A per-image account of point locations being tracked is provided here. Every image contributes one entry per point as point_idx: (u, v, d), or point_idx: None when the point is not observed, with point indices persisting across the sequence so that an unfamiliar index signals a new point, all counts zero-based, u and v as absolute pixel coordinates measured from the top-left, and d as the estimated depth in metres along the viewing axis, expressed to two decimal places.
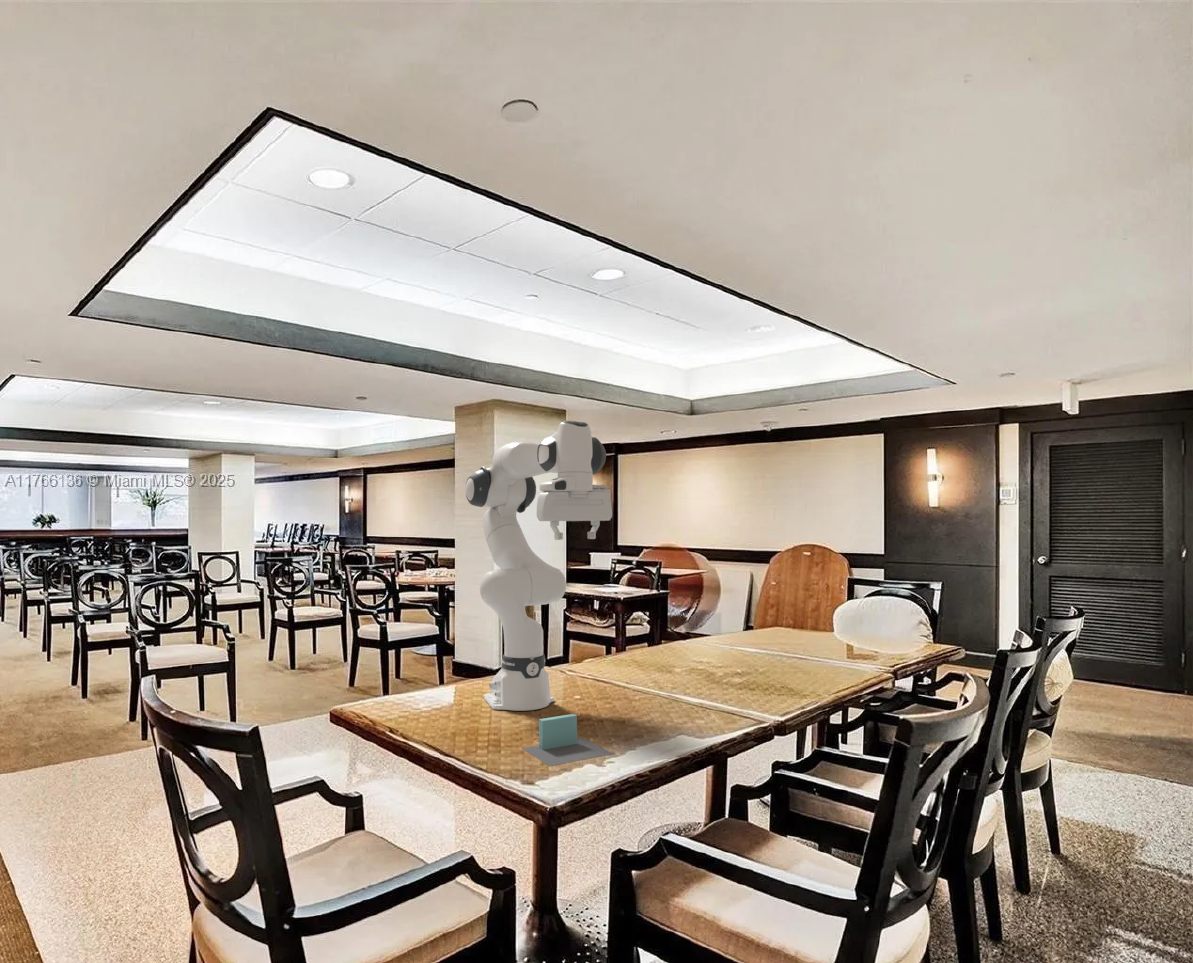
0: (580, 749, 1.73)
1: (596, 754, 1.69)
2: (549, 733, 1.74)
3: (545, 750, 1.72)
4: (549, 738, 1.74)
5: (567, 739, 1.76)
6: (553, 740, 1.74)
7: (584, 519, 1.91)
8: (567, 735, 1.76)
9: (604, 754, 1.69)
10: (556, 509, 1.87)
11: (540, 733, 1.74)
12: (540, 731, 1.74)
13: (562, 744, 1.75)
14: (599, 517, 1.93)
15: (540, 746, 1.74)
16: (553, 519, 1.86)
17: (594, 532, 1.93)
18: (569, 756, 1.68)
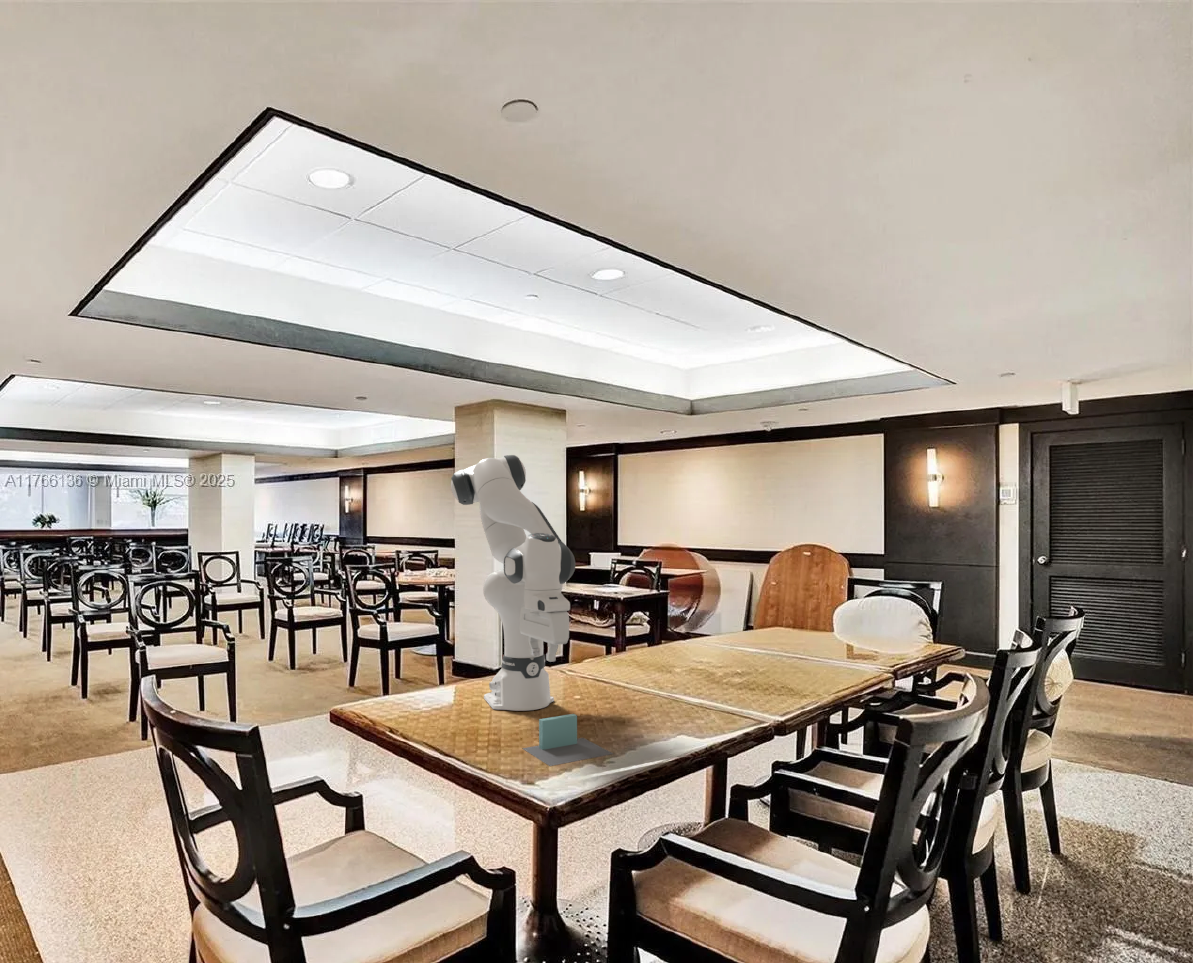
0: (580, 749, 1.73)
1: (596, 754, 1.69)
2: (549, 733, 1.74)
3: (545, 750, 1.72)
4: (549, 738, 1.74)
5: (567, 739, 1.76)
6: (553, 740, 1.74)
7: None
8: (567, 735, 1.76)
9: (604, 754, 1.69)
10: None
11: (540, 733, 1.74)
12: (540, 731, 1.74)
13: (562, 744, 1.75)
14: None
15: (540, 746, 1.74)
16: None
17: None
18: (569, 756, 1.68)
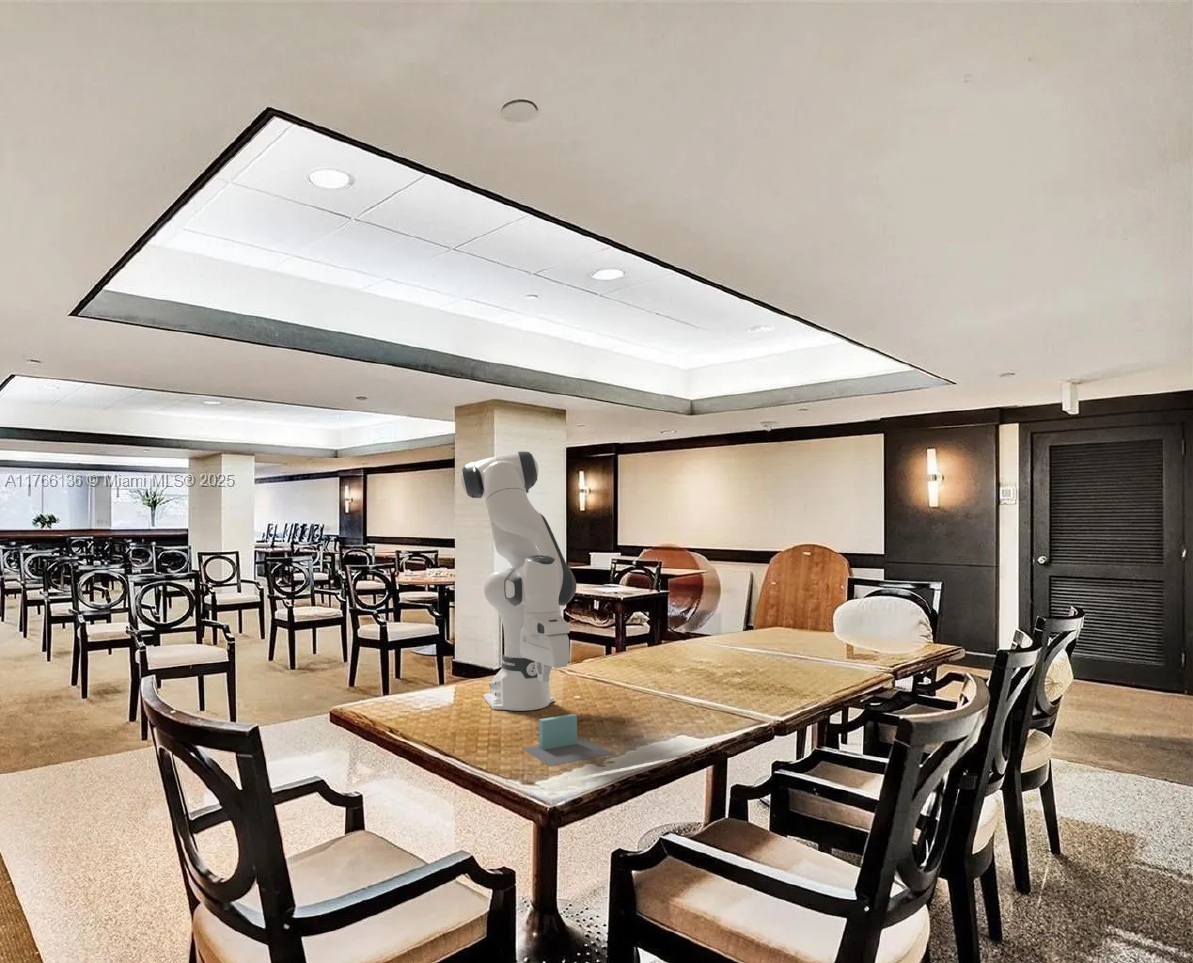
0: (580, 749, 1.73)
1: (596, 754, 1.69)
2: (549, 733, 1.74)
3: (545, 750, 1.72)
4: (549, 738, 1.74)
5: (567, 739, 1.76)
6: (553, 740, 1.74)
7: None
8: (567, 735, 1.76)
9: (604, 754, 1.69)
10: None
11: (540, 733, 1.74)
12: (540, 731, 1.74)
13: (562, 744, 1.75)
14: None
15: (540, 746, 1.74)
16: None
17: None
18: (569, 756, 1.68)
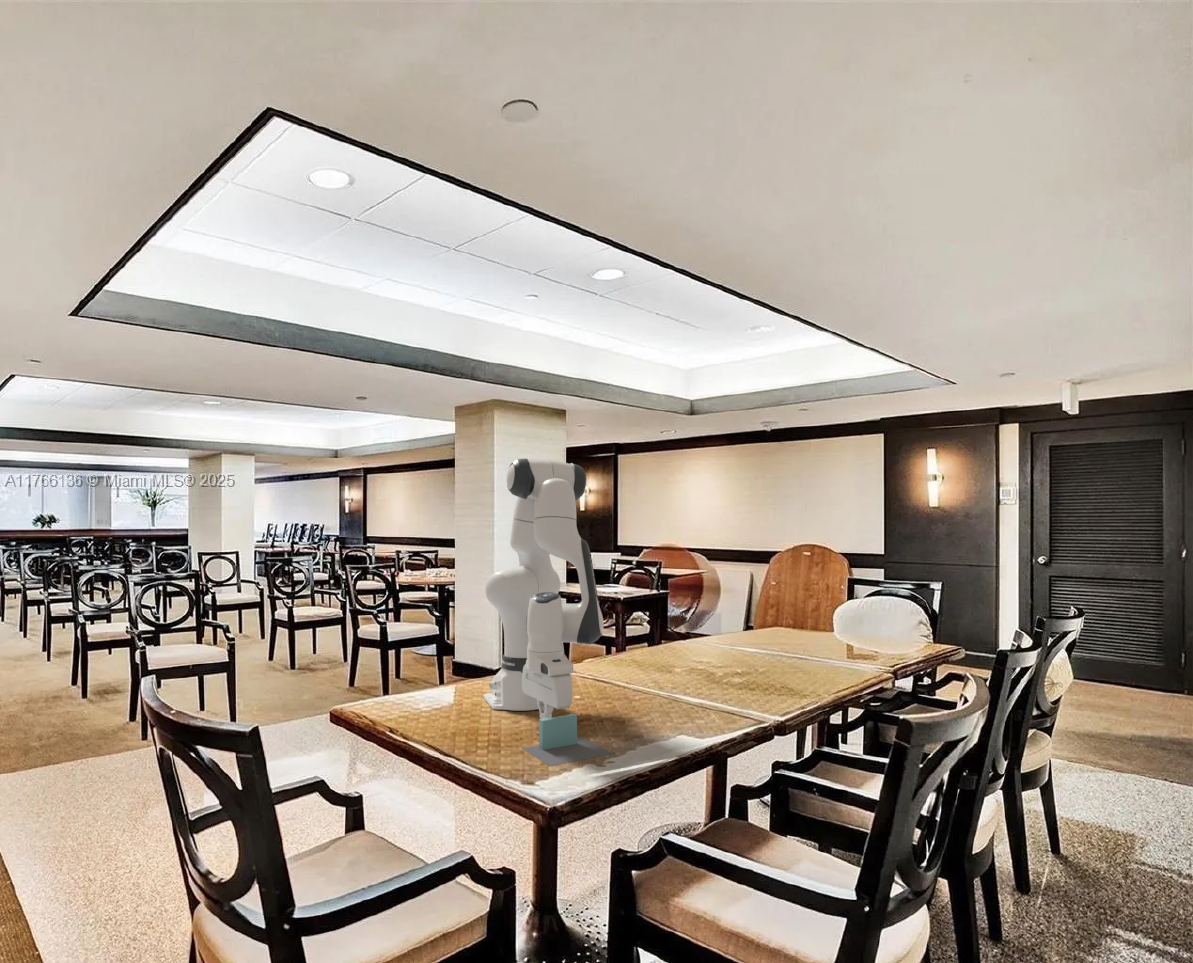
0: (580, 749, 1.73)
1: (596, 754, 1.69)
2: (549, 733, 1.74)
3: (545, 750, 1.72)
4: (549, 738, 1.74)
5: (567, 739, 1.76)
6: (553, 740, 1.74)
7: None
8: (567, 735, 1.76)
9: (604, 754, 1.69)
10: None
11: (540, 733, 1.74)
12: (540, 731, 1.74)
13: (562, 744, 1.75)
14: None
15: (540, 746, 1.74)
16: None
17: None
18: (569, 756, 1.68)
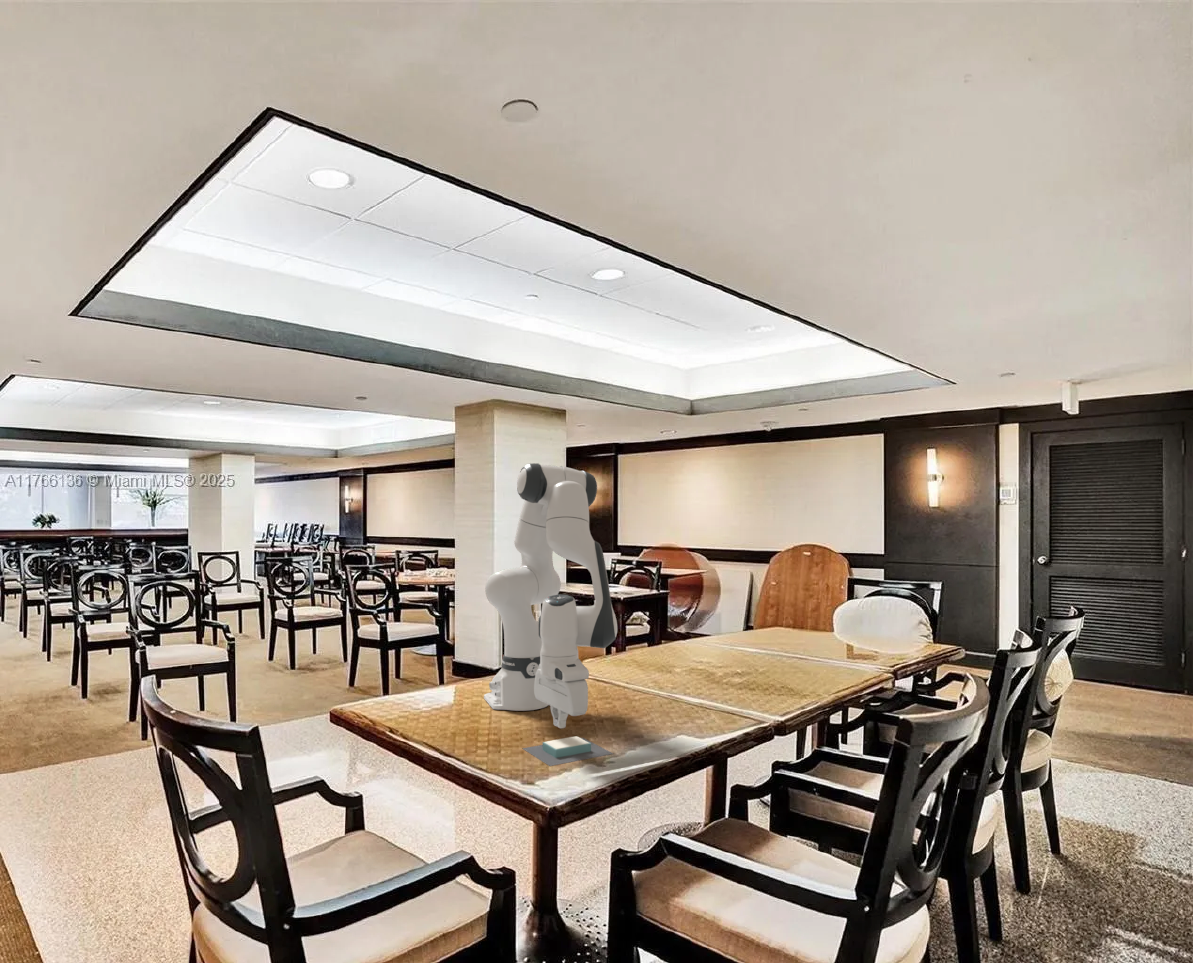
0: None
1: (596, 754, 1.69)
2: None
3: None
4: None
5: None
6: None
7: None
8: None
9: (604, 754, 1.69)
10: None
11: (549, 749, 1.70)
12: (550, 750, 1.69)
13: None
14: None
15: (543, 746, 1.72)
16: None
17: None
18: (569, 756, 1.68)
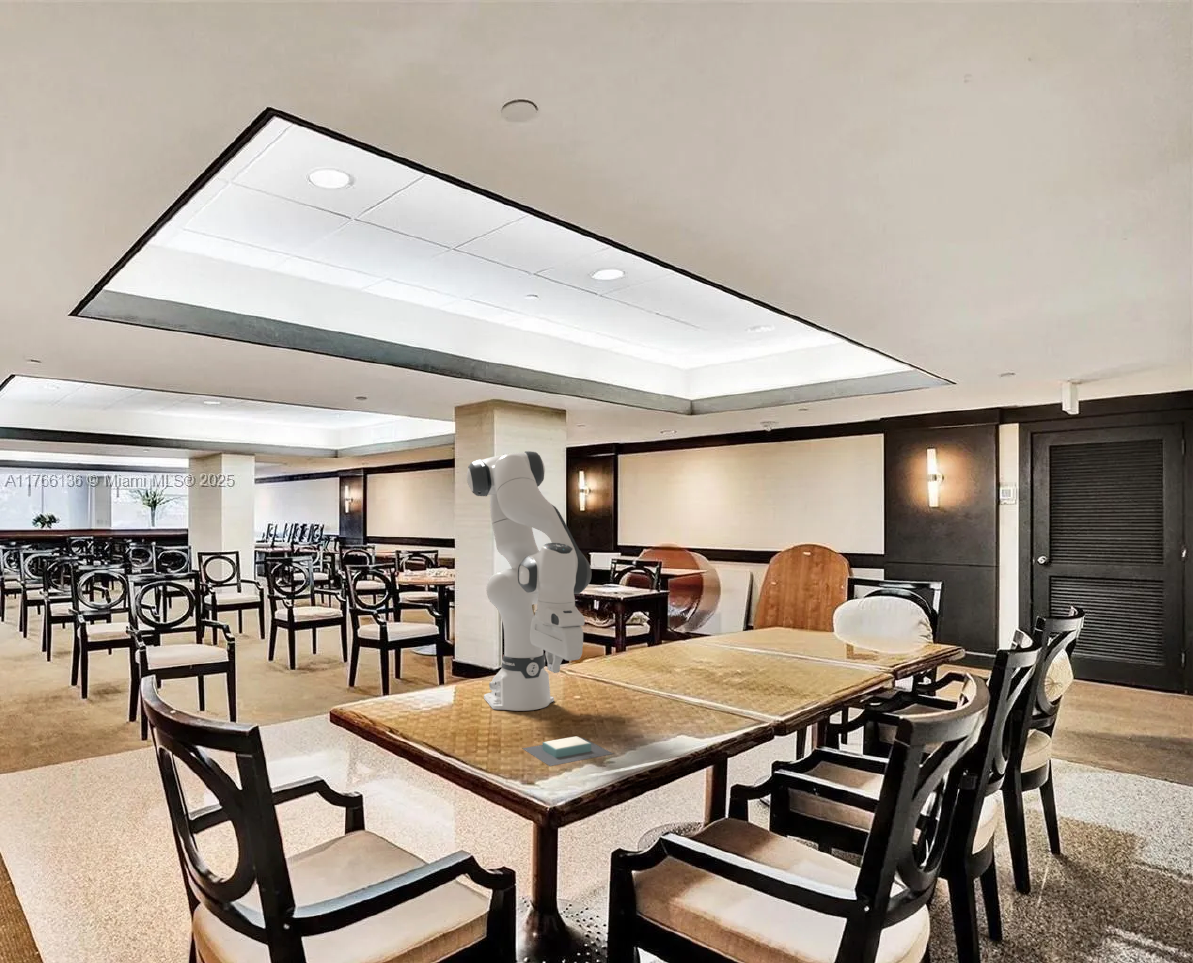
0: None
1: (596, 754, 1.69)
2: None
3: None
4: None
5: None
6: None
7: None
8: None
9: (604, 754, 1.69)
10: None
11: (549, 749, 1.70)
12: (550, 750, 1.69)
13: None
14: None
15: (543, 746, 1.72)
16: None
17: None
18: (569, 756, 1.68)
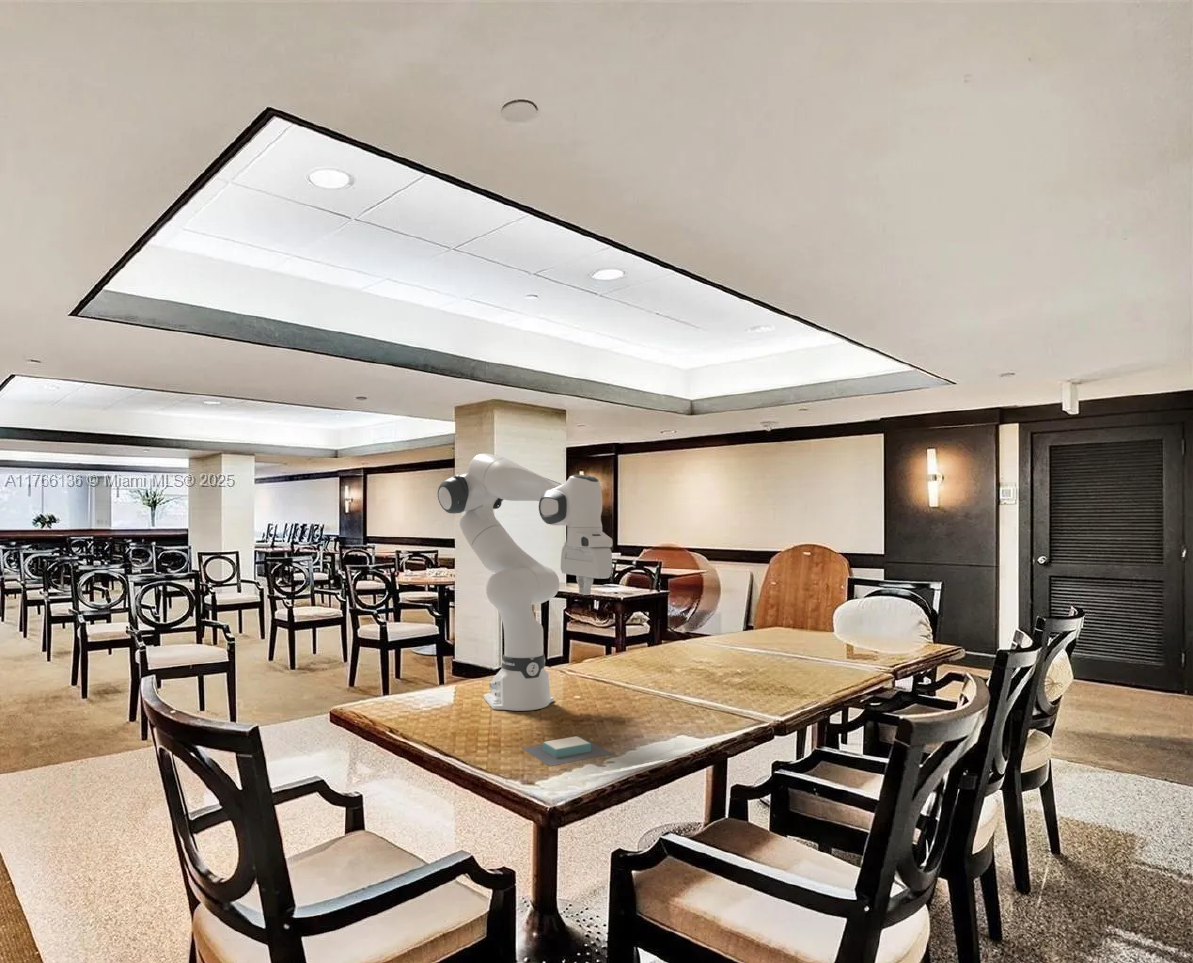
0: None
1: (596, 754, 1.69)
2: None
3: None
4: None
5: None
6: None
7: None
8: None
9: (604, 754, 1.69)
10: None
11: (549, 749, 1.70)
12: (550, 750, 1.69)
13: None
14: None
15: (543, 746, 1.72)
16: None
17: None
18: (569, 756, 1.68)
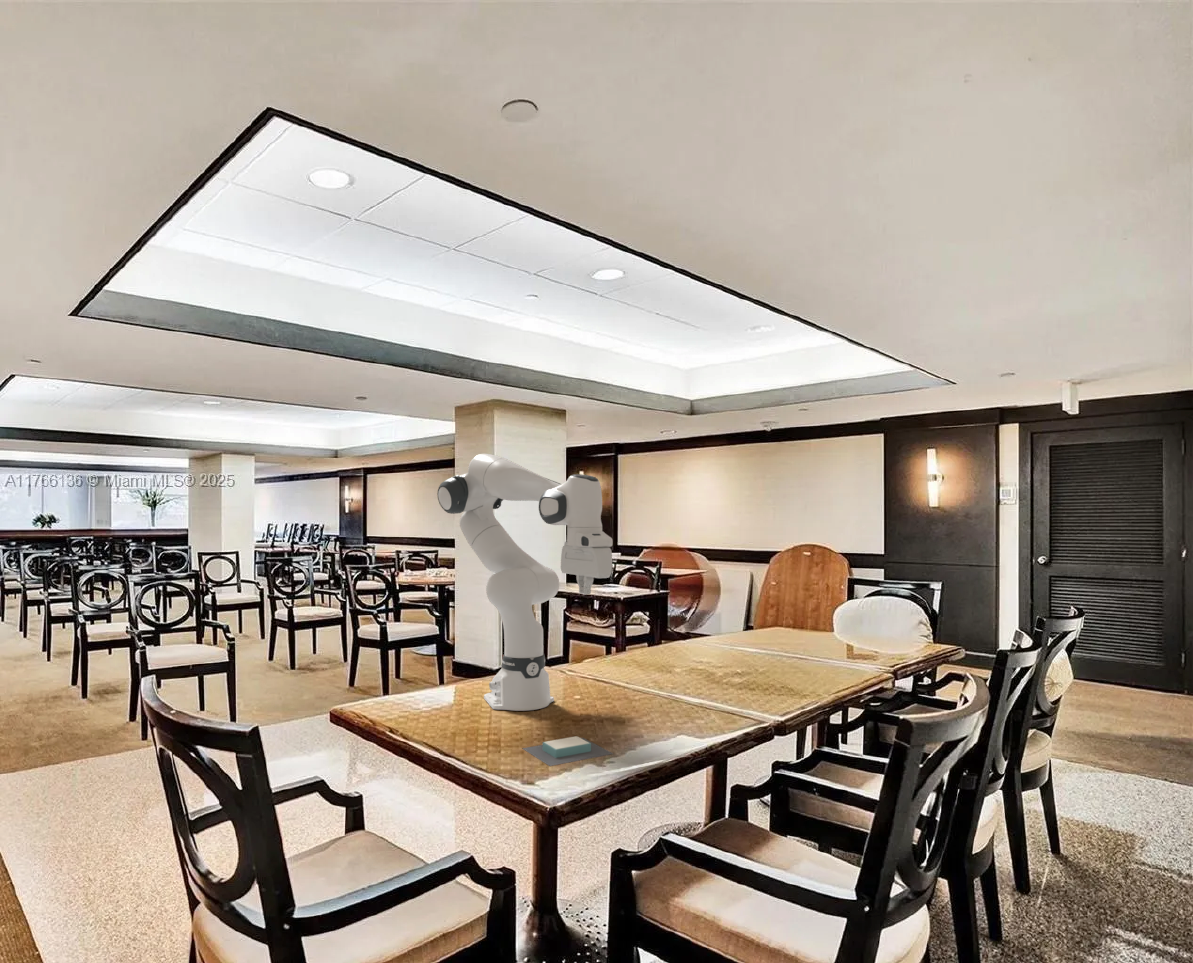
0: None
1: (596, 754, 1.69)
2: None
3: None
4: None
5: None
6: None
7: None
8: None
9: (604, 754, 1.69)
10: None
11: (549, 749, 1.70)
12: (550, 750, 1.69)
13: None
14: None
15: (543, 746, 1.72)
16: None
17: None
18: (569, 756, 1.68)
